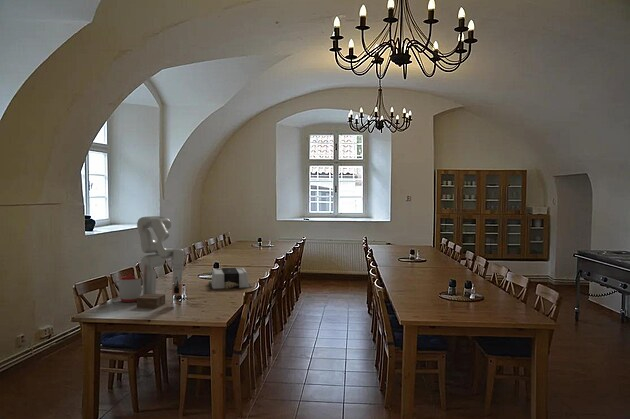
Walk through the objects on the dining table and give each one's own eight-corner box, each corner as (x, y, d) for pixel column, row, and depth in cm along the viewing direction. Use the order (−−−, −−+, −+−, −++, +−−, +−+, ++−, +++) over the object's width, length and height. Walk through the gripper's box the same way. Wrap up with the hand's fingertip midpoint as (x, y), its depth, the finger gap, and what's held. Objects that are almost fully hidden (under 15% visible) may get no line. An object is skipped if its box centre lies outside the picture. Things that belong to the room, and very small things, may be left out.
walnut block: (146, 303, 353) (146, 293, 353) (165, 304, 351) (165, 294, 351) (136, 308, 339) (136, 298, 339) (156, 309, 337) (156, 298, 337)
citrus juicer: (148, 299, 364) (148, 272, 363) (129, 304, 348) (129, 275, 348) (132, 297, 371) (132, 270, 370) (113, 301, 355) (113, 273, 355)
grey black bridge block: (251, 288, 409) (251, 273, 408) (210, 290, 401) (210, 274, 400) (246, 280, 443) (246, 266, 442) (208, 282, 435) (208, 267, 434)
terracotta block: (174, 293, 351) (174, 282, 351) (182, 293, 352) (183, 282, 351) (172, 295, 345) (172, 283, 345) (181, 295, 346) (181, 284, 345)
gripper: (175, 264, 356) (174, 289, 357) (169, 268, 338) (169, 295, 339) (185, 264, 356) (185, 289, 357) (181, 269, 339) (180, 295, 340)
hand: (177, 291), depth 348 cm, fingers closed on terracotta block, 6 cm apart
